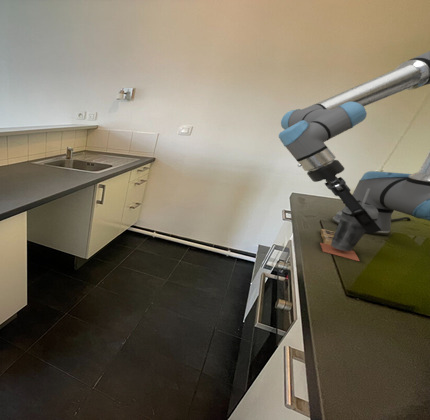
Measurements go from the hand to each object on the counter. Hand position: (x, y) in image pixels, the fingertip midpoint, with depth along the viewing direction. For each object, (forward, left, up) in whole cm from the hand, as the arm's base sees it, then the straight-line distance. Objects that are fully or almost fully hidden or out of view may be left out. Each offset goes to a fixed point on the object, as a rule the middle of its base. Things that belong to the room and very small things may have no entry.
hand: (370, 227), depth 74 cm
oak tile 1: (-11, -10, -10) cm, 18 cm away
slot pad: (+2, -3, -10) cm, 11 cm away
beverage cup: (+2, -3, -9) cm, 9 cm away
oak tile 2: (-5, -6, -10) cm, 13 cm away
